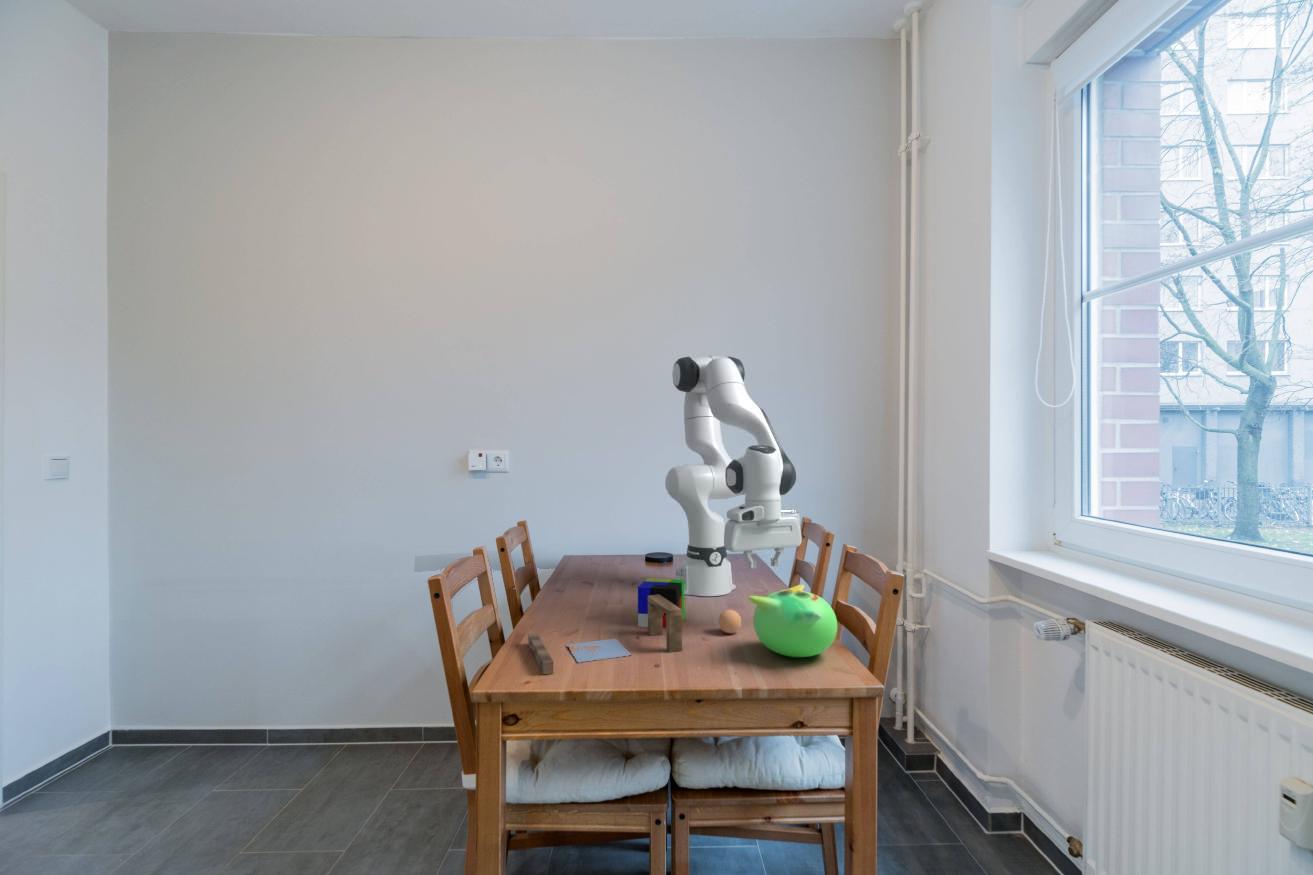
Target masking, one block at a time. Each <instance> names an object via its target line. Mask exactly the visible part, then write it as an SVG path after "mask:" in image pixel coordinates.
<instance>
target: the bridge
mask: <svg viewBox="0 0 1313 875" xmlns="http://www.w3.org/2000/svg"><path fill="white" fill-rule="evenodd" d="M662 611H663V612H664V613H665V614H666V628H665V630H666V635H665V637H666V638H665V639H666V643H665V644H666V650H667V652H669V653H675V652H682V651H683V621H682V609H680V608H679V607H677V606H676V605H674V604H673V603H671V602H670V601H668V600H667V599H665V598H664V597H662V596H661V595H649V596H648V627H647V634H648V635H649V636H650V637H651V636H653V637H654V636H660V635H663V632H664V631H663V629H664V628H663V626H662Z"/></svg>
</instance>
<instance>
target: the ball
mask: <svg viewBox="0 0 1313 875" xmlns="http://www.w3.org/2000/svg"><path fill="white" fill-rule="evenodd" d="M718 625H719V628H720V630H721V631H723V632H724V633H726V634H735V633H736V632H737V631H739V630H740V629H741V626H742V618H741V616H740V614H739V613H738V612H737V611H735V610H733V609H727V610H724V611H722V612H721V613H720V614H719V617H718Z"/></svg>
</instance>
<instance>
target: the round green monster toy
mask: <svg viewBox="0 0 1313 875" xmlns="http://www.w3.org/2000/svg"><path fill="white" fill-rule="evenodd" d="M804 588H805V584H797V585H795V586H792V587H790V588H787V589H781V590H777V591H773V592H772V593H771V592H770V593H769V594H767V595H765V596H759V595H748V597H747V599H748V600H749V602H752V603H753V604H755V605H757V606H756V608H755V610H754V612H753V619H752V620H753V621H752V622H753V629H754V632H755V634H756V636H757V638H758V639H759V640H760V642H761V643H762V644H763V645H765V647H767V648H768V649H769V650H770V651H773V653H774V652H775V653H777V654H779V655H782V656H786V657H790V658H810V657H813V656H817V655H819V654H821V653H823V652H825V651H826V650H827V649H828V648H829V647H831V645H832V644H833V643H834V641H835V638H836V636H837V632H838V620H837V615H836V613H835V612H834V610H833V608H832V607H831V605H830V604H829V602H827V601H826V600H825V599H824V598H822V597H820V596H819V595H817V594H815V593H812V592H809V591H806V590H804Z"/></svg>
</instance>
